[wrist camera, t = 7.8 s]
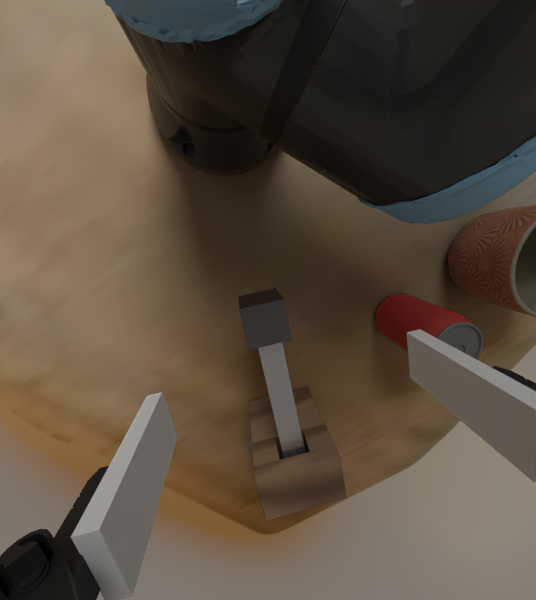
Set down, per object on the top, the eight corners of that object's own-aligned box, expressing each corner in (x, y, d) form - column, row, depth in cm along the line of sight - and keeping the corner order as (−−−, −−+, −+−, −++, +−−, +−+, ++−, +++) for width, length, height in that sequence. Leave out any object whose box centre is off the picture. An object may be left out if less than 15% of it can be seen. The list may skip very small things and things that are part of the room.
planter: (503, 298, 41) (594, 321, 31) (428, 294, 40) (497, 317, 29) (526, 213, 39) (636, 205, 28) (447, 205, 37) (531, 194, 26)
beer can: (388, 344, 41) (448, 388, 29) (364, 312, 39) (418, 346, 28) (423, 316, 40) (499, 349, 29) (400, 283, 39) (471, 304, 27)
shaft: (238, 296, 29) (239, 309, 24) (275, 287, 29) (283, 298, 24) (280, 468, 35) (287, 506, 30) (310, 460, 35) (322, 496, 30)
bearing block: (248, 401, 40) (254, 477, 28) (307, 386, 41) (339, 454, 28) (257, 434, 42) (266, 520, 29) (313, 419, 42) (346, 498, 30)
